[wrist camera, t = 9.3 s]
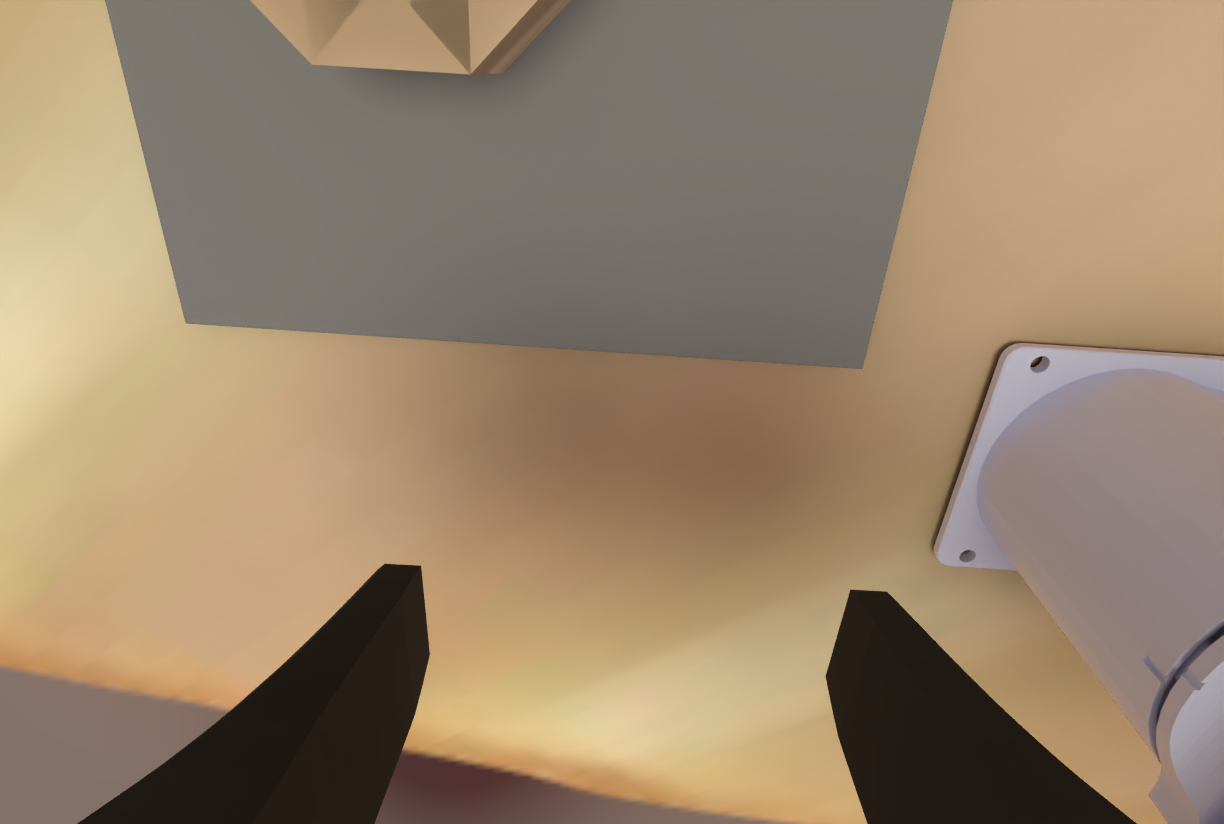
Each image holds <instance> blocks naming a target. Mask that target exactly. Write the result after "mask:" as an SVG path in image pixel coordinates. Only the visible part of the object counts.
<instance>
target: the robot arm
mask: <svg viewBox="0 0 1224 824" xmlns="http://www.w3.org/2000/svg"><path fill="white" fill-rule="evenodd" d="M1040 356H1042V361H1041V362H1040V364H1039V365H1037V366H1035V367H1031V368H1030V365H1031V363H1032V361H1033V360H1034V359H1035V358H1037V357H1040ZM966 550H970V551H969V552H968V553H966V554H964V555H960V554H961V553H962V552H964V551H966ZM933 552H934V555H935V557H936V558H937V560H938V562H940V563H941V564H942V565H946V566H957V567H971V568H985V569H999V570H1013V571H1018V573H1019V574H1020V575H1021V577H1022V578H1023V579H1024V581H1025V582H1026V583H1027V585H1028V586H1029V587H1030V589H1031V590H1032V591H1033V593H1034V594H1035V595H1036V597H1037V598H1038V599H1039V601H1040V602H1041V603H1042V605H1043V606H1044V607H1045V609H1046V610H1047V612H1048V613H1049V614H1050V616H1051V617H1052V618H1053V620H1054V621H1055V622H1056V624H1057V625H1058V626H1059V628H1060V629H1061V630H1062V632H1063V633H1064V634H1065V636H1066V637H1067V638H1068V640H1069V641H1070V642H1071V644H1072V645H1073V646H1074V648H1075V649H1076V650H1077V652H1078V653H1079V655H1080V656H1081V657H1082V659H1083V660H1084V661H1085V663H1086V664H1087V665H1088V667H1089V668H1090V669H1091V671H1092V672H1093V673H1094V675H1095V676H1096V677H1097V679H1098V680H1099V681H1100V683H1101V684H1102V685H1103V687H1104V688H1105V689H1106V691H1107V692H1108V693H1109V695H1110V696H1111V698H1112V699H1113V700H1114V702H1115V703H1116V704H1117V706H1118V707H1119V708H1120V710H1121V711H1122V712H1123V714H1124V715H1125V716H1126V718H1127V719H1128V720H1129V722H1130V723H1131V724H1132V726H1133V727H1134V728H1135V730H1136V731H1137V732H1138V734H1139V735H1140V736H1141V738H1142V739H1143V741H1144V742H1145V743H1146V745H1147V746H1148V747H1149V749H1150V750H1151V751H1152V753H1153V754H1154V755H1155V757H1156V758H1157V759H1158V761H1159V762H1160V763H1161V772H1160V776H1159V778H1158V780H1157V782H1156V784H1155V785H1154V786H1153V788H1152V789H1151V790H1150V792H1149V797H1150V798H1151V800H1152V801H1153V803H1154V804H1155V805H1156V807H1157V808H1158V810H1159V811H1160V813H1161V814H1162V816H1163V817H1164V818H1165V820H1166V821H1167V823H1168V824H1224V356H1212V355H1197V354H1182V353H1167V352H1152V351H1137V350H1122V349H1107V348H1092V347H1077V346H1062V345H1047V344H1032V343H1016V344H1013V345H1011V346H1009V347H1008V348H1006V349H1005V350H1004V351H1003V352H1002V354H1001V356H1000V358H999V360H998V363H997V366H996V369H995V372H994V375H993V378H992V381H991V383H990V386H989V389H988V392H987V395H986V398H985V401H984V404H983V407H982V409H981V412H980V415H979V418H978V421H977V424H976V427H975V430H974V433H973V435H972V438H971V441H970V444H969V447H968V450H967V453H966V456H965V459H964V462H963V464H962V467H961V470H960V473H959V476H958V479H957V482H956V485H955V488H954V490H953V493H952V496H951V499H950V502H949V505H948V508H947V511H946V514H945V516H944V519H943V522H942V525H941V528H940V531H939V534H938V537H937V540H936V543H935V545H934V550H933ZM429 655H430V652H429V642H428V632H427V622H426V612H425V601H424V591H423V581H422V571H421V566H413V565H395V564H384V565H383V566H382V567H380V568H379V569H378V570H377V571H376V572H375V573H374V574H373V575H372V576H371V577H370V578H369V579H368V580H367V581H366V582H365V583H364V584H363V586H362V587H361V588H360V589H359V590H358V591H357V592H356V593H355V594H354V595H353V596H352V597H351V598H350V599H349V600H348V601H347V602H346V603H345V604H344V605H343V606H342V607H341V608H340V609H339V610H338V611H337V612H336V613H335V614H334V615H333V616H332V617H331V618H330V619H329V620H328V621H327V622H326V623H325V624H324V625H323V626H322V627H321V628H320V629H319V630H318V631H317V632H316V633H315V634H314V635H313V636H312V637H311V638H310V639H309V640H308V641H307V642H306V643H305V644H304V645H303V646H302V647H301V648H300V649H299V650H298V651H296V652H295V653H294V654H293V655H292V656H291V657H290V658H289V659H288V660H287V661H286V662H285V663H284V664H283V665H282V666H281V667H280V668H278V669H277V670H276V671H275V672H274V673H273V674H272V675H270V676H269V677H268V678H267V679H266V680H265V681H264V682H263V683H261V684H260V685H259V686H258V687H257V688H256V689H255V690H254V691H252V692H251V693H250V694H249V695H248V696H247V697H246V698H245V699H243V700H242V701H241V702H240V703H239V704H238V705H237V706H235V707H234V708H233V709H232V710H231V711H229V712H228V713H227V714H226V715H225V716H223V717H222V718H221V719H220V720H219V721H217V722H216V723H215V724H214V725H212V726H211V727H210V728H209V729H207V730H206V731H205V732H204V733H203V734H201V735H200V736H199V737H198V738H196V739H195V740H194V741H192V742H191V743H190V744H188V746H186V747H185V748H183V749H182V750H181V751H179V752H178V753H177V754H175V755H174V756H173V757H172V758H170V759H169V760H168V761H166V762H165V763H164V764H162V765H161V766H159V767H158V768H157V769H155V770H154V771H152V772H151V773H150V774H148V775H147V776H145V777H144V778H143V779H141V780H140V781H139V782H137V783H136V784H134V785H133V786H131V787H130V788H128V789H127V790H126V791H124V792H123V793H121V794H120V795H119V796H117V797H115V798H114V799H113V800H111V801H110V802H108V803H107V804H105V805H104V806H102V807H101V808H99V809H98V810H97V811H95V812H94V813H92V814H91V815H89V816H88V817H86V818H85V819H84V820H82V821H80V822H79V823H78V824H374V823H375V820H376V818H377V815H378V812H379V810H380V807H381V804H382V801H383V799H384V796H385V794H386V791H387V788H388V786H389V783H390V780H391V778H392V775H393V773H394V770H395V767H396V764H397V762H398V759H399V756H400V754H401V751H402V748H403V746H404V743H405V740H406V737H407V735H408V732H409V729H410V727H411V724H412V721H413V718H414V715H415V712H416V708H417V704H418V700H419V697H420V693H421V689H422V685H423V681H424V676H425V672H426V668H427V664H428V660H429ZM826 680H827V685H828V690H829V695H830V700H831V705H832V710H833V715H834V719H835V724H836V728H837V732H838V737H839V740H840V743H841V746H842V749H843V752H844V755H845V758H846V761H847V764H848V767H849V770H850V773H851V776H852V779H853V782H854V785H855V788H856V791H857V794H858V797H859V800H860V803H861V806H862V809H863V812H864V814H865V817H866V820H867V823H868V824H1137V823H1135V822H1134V821H1133V820H1131V819H1130V818H1129V817H1128V816H1126V815H1125V814H1124V813H1123V812H1121V811H1120V810H1119V809H1118V808H1116V807H1115V806H1114V805H1113V804H1111V803H1110V802H1109V801H1108V800H1107V799H1105V798H1104V797H1103V796H1102V795H1100V794H1099V793H1098V792H1097V791H1095V790H1094V789H1093V788H1092V787H1090V786H1089V785H1088V784H1087V783H1086V782H1084V781H1083V780H1082V779H1081V778H1079V777H1078V776H1077V775H1076V774H1075V773H1073V772H1072V771H1071V770H1070V769H1069V768H1068V767H1066V766H1065V765H1064V764H1063V763H1062V762H1061V761H1059V760H1058V759H1057V758H1056V757H1055V756H1054V755H1053V754H1051V753H1050V752H1049V751H1048V750H1047V749H1046V748H1045V747H1044V746H1043V745H1042V744H1040V743H1039V742H1038V741H1037V740H1036V739H1035V738H1034V737H1033V736H1032V735H1030V734H1029V733H1028V732H1027V731H1026V730H1025V729H1024V728H1023V727H1022V726H1021V725H1019V724H1018V723H1017V722H1016V721H1015V720H1014V719H1013V718H1012V717H1011V716H1010V715H1009V714H1008V713H1007V712H1006V711H1004V710H1003V709H1002V708H1001V707H1000V706H999V705H998V704H997V703H996V702H995V701H994V700H993V699H992V698H991V697H990V696H989V695H988V694H987V693H986V692H985V691H984V690H983V689H982V688H981V687H980V686H979V685H978V684H977V683H976V682H975V681H974V680H973V679H972V678H971V677H970V676H969V675H968V674H967V673H966V672H965V671H964V670H963V669H962V668H961V667H960V666H959V665H958V664H957V663H956V662H955V661H954V660H953V659H952V658H951V657H950V656H949V655H948V654H947V653H946V652H945V651H944V650H943V649H942V648H941V647H940V646H939V645H938V644H937V643H936V642H935V641H934V640H933V639H932V638H931V637H930V636H929V635H928V633H927V632H926V631H925V630H924V629H923V628H922V627H921V626H920V625H919V624H918V623H917V622H916V621H915V620H914V619H913V618H912V617H911V616H910V615H909V614H908V613H907V612H906V611H905V610H904V609H903V608H902V606H901V605H900V604H899V603H898V602H897V601H896V600H895V599H894V598H893V597H892V596H891V595H890V594H889V593H888V592H882V591H864V590H850V593H849V597H848V600H847V604H846V607H845V611H844V614H843V618H842V621H841V625H840V628H839V632H838V635H837V639H836V642H835V646H834V649H833V653H832V656H831V660H830V663H829V667H828V670H827V674H826Z"/></svg>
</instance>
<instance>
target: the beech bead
mask: <svg viewBox="0 0 1224 824" xmlns="http://www.w3.org/2000/svg"><path fill="white" fill-rule="evenodd" d="M250 1H251V2H252V3H253V4H254V5H255V6H256V7H257V8H258V9H259V10H260V11H261V12H262V13H263V14H264V15H265V16H266V18H267V19H268V20H269V21H270V22H271V23H272V24H273V25H274V26H275V27H276V28H277V29H278V30H279V31H280V32H281V33H282V34H283V35H284V36H285V37H286V38H287V39H288V40H289V41H290V42H291V43H292V45H293V46H294V47H295V48H296V49H297V50H298V51H299V52H300V53H301V54H302V55H303V56H304V57H305V58H306V59H307V60H308V61H309V62H310V63H311V64H312V65H327V66H343V67H359V68H375V69H391V70H407V71H423V72H440V73H456V74H470V75H475V74H503V73H504V72H505V71H506V70H507V69H508V68H509V67H510V66H511V65H512V64H513V63H514V61H515V60H516V59H517V58H518V57H519V56H520V55H521V54H522V53H523V52H524V51H525V50H526V48H527V47H528V46H529V45H530V44H531V43H532V42H533V41H534V40H535V39H536V38H537V37H538V36H539V34H540V33H541V32H542V31H543V30H544V29H545V28H546V27H547V26H548V25H549V24H550V23H551V21H552V20H553V19H554V18H555V17H556V16H557V15H558V14H559V13H560V12H561V11H562V10H563V8H564V7H565V6H566V5H567V4H568V3H569V2H570V1H571V0H250Z"/></svg>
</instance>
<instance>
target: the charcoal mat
mask: <svg viewBox="0 0 1224 824" xmlns="http://www.w3.org/2000/svg"><path fill="white" fill-rule="evenodd" d="M105 2H106V6H107V10H108V14H109V18H110V22H111V26H112V30H113V34H114V38H115V42H116V46H117V50H118V54H119V58H120V62H121V66H122V70H123V74H124V78H125V82H126V86H127V90H128V94H129V98H130V102H131V106H132V110H133V114H134V118H135V122H136V126H137V130H138V134H139V138H140V142H141V146H142V150H143V154H144V158H145V162H146V166H147V170H148V174H149V178H150V182H151V186H152V190H153V194H154V198H155V202H156V206H157V210H158V214H159V218H160V222H161V226H162V230H163V234H164V238H165V242H166V246H167V250H168V254H169V258H170V262H171V266H172V270H173V274H174V278H175V282H176V286H177V290H178V294H179V298H180V302H181V306H182V310H183V314H184V318H185V322H186V323H187V324H202V325H217V326H232V327H247V328H262V329H277V330H291V331H306V332H321V333H336V334H351V335H366V336H381V337H396V338H410V339H425V340H440V341H455V342H470V343H485V344H500V345H515V346H529V347H544V348H559V349H574V350H589V351H604V352H619V353H634V354H648V355H663V356H678V357H693V358H708V359H723V360H738V361H753V362H767V363H782V364H797V365H812V366H827V367H842V368H857V369H862V368H863V364H864V360H865V356H866V351H867V347H868V343H869V339H870V335H871V331H872V327H873V323H874V319H875V315H876V311H877V307H878V303H879V299H880V295H881V291H882V287H883V282H884V278H885V274H886V270H887V266H888V262H889V258H890V254H891V250H892V246H893V242H894V238H895V234H896V230H897V226H898V222H899V218H900V213H901V209H902V205H903V201H904V197H905V193H906V189H907V185H908V181H909V177H910V173H911V169H912V165H913V161H914V157H915V153H916V149H917V144H918V140H919V136H920V132H921V128H922V124H923V120H924V116H925V112H926V108H927V104H928V100H929V96H930V92H931V88H932V84H933V80H934V75H935V71H936V67H937V63H938V59H939V55H940V51H941V47H942V43H943V39H944V35H945V31H946V27H947V23H948V19H949V15H950V11H951V6H952V2H953V0H571V1H570V2H569V3H568V4H567V5H566V6H565V7H564V8H563V10H562V11H561V12H560V13H559V14H558V15H557V16H556V17H555V18H554V19H553V20H552V21H551V23H550V24H549V25H548V26H547V27H546V28H545V29H544V30H543V31H542V32H541V33H540V34H539V36H538V37H537V38H536V39H535V40H534V41H533V42H532V43H531V44H530V45H529V46H528V47H527V48H526V50H525V51H524V52H523V53H522V54H521V55H520V56H519V57H518V58H517V59H516V60H515V61H514V63H513V64H512V65H511V66H510V67H509V68H508V69H507V70H506V71H505V72H504V73H503V74H475V75H470V74H456V73H440V72H423V71H407V70H391V69H375V68H359V67H343V66H327V65H312V64H311V63H310V62H309V61H308V60H307V59H306V58H305V57H304V56H303V55H302V54H301V53H300V52H299V51H298V50H297V49H296V48H295V47H294V46H293V45H292V43H291V42H290V41H289V40H288V39H287V38H286V37H285V36H284V35H283V34H282V33H281V32H280V31H279V30H278V29H277V28H276V27H275V26H274V25H273V24H272V23H271V22H270V21H269V20H268V19H267V18H266V16H265V15H264V14H263V13H262V12H261V11H260V10H259V9H258V8H257V7H256V6H255V5H254V4H253V3H252V2H251V1H250V0H105Z"/></svg>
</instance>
